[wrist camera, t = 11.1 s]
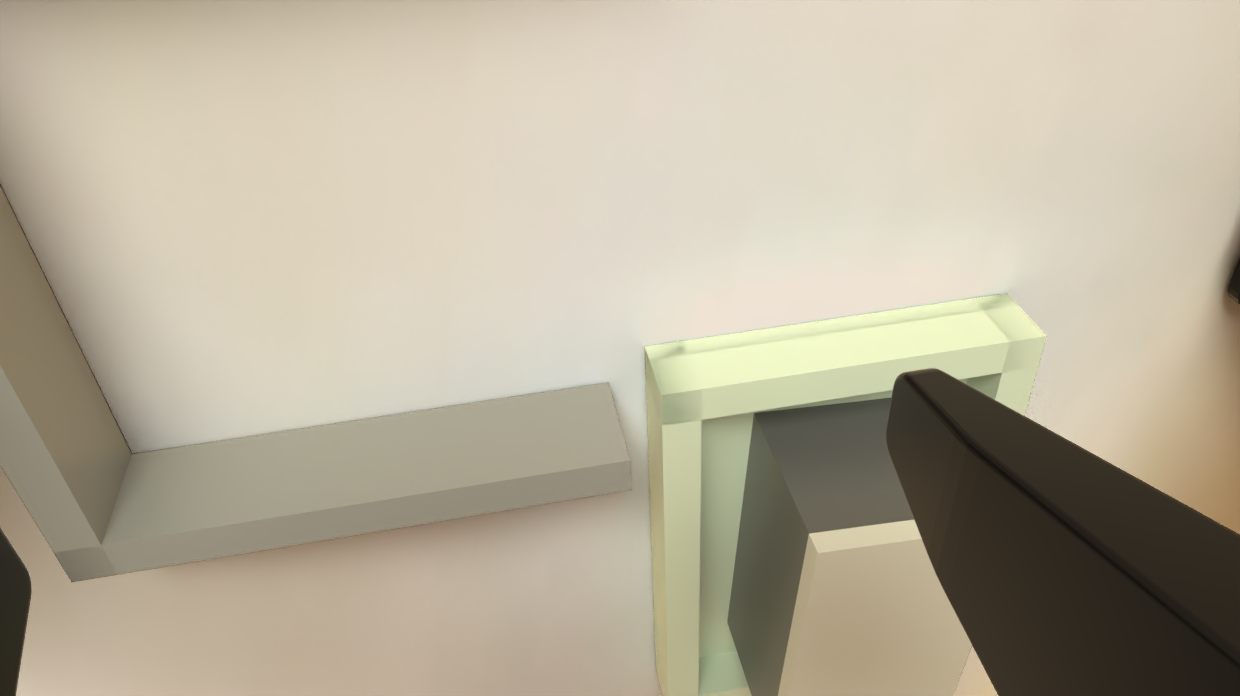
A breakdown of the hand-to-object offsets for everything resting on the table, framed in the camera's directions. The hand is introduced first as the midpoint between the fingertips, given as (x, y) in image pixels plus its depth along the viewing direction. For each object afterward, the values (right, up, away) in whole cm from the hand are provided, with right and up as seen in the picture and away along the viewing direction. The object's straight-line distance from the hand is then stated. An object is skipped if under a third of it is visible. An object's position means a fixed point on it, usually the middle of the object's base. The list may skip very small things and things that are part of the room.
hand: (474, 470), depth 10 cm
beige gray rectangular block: (+7, -4, +19) cm, 21 cm away
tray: (+7, -4, +20) cm, 21 cm away
